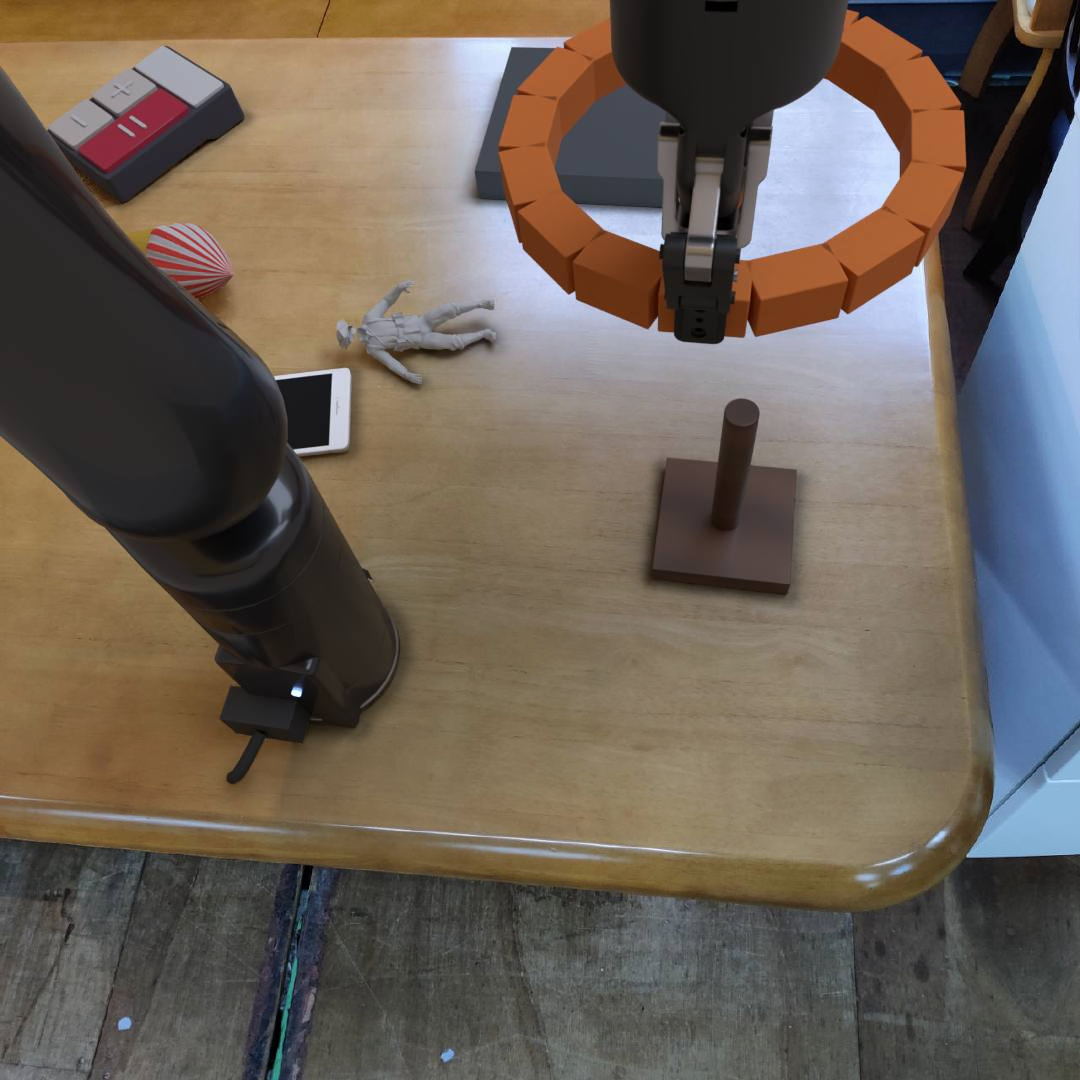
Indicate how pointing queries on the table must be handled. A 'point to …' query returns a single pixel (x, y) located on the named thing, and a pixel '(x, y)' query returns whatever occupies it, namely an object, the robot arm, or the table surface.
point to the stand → (585, 144)
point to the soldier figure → (410, 330)
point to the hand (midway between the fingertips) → (702, 310)
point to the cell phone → (317, 410)
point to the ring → (763, 283)
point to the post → (727, 514)
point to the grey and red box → (145, 122)
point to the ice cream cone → (186, 256)
